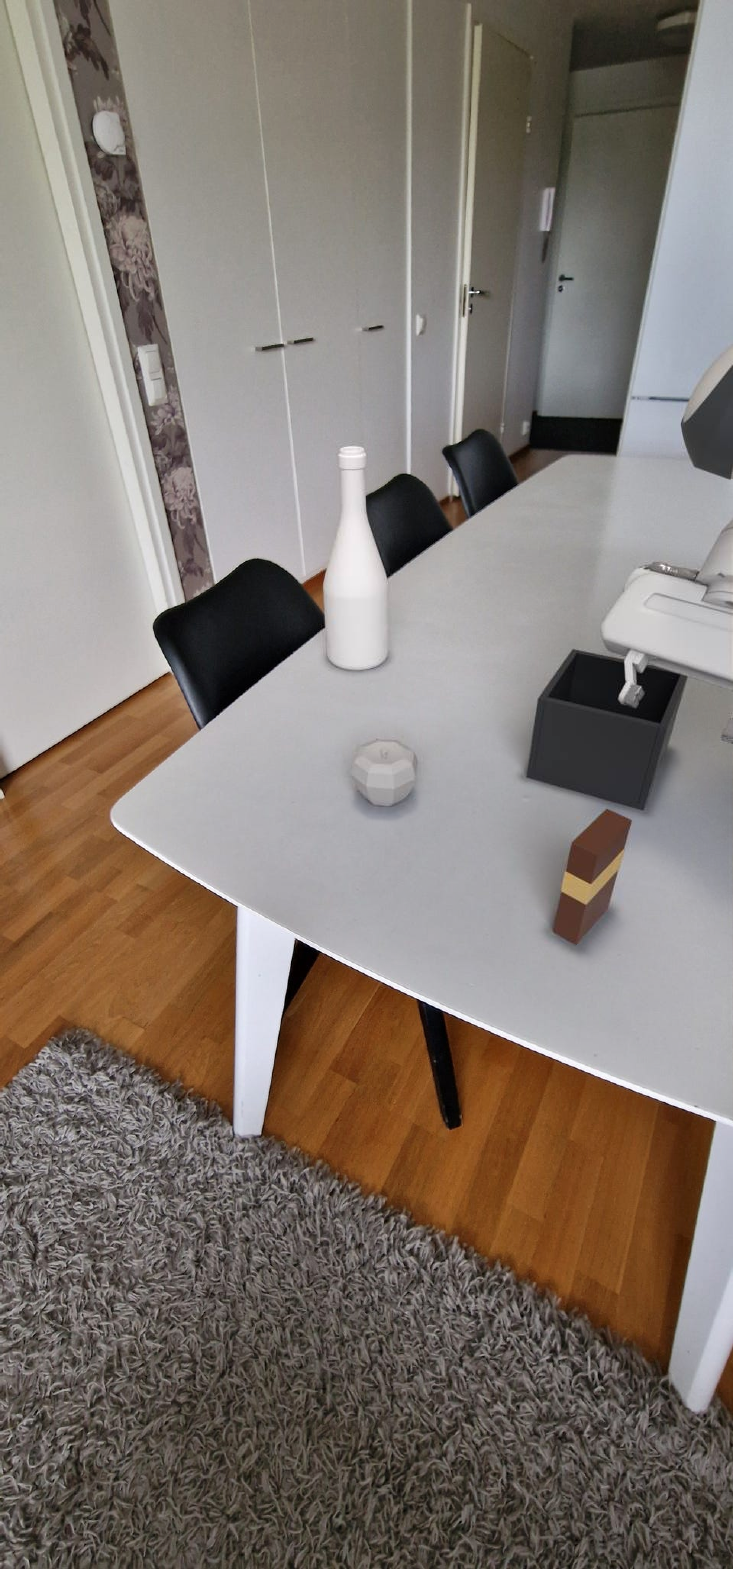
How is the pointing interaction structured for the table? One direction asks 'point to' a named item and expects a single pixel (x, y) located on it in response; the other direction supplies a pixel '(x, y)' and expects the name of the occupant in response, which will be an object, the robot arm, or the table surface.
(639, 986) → the table surface
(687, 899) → the table surface
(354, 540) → the wine bottle
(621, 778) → the waste bin
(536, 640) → the table surface
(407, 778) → the apple
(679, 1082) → the table surface
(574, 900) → the chocolate bar
